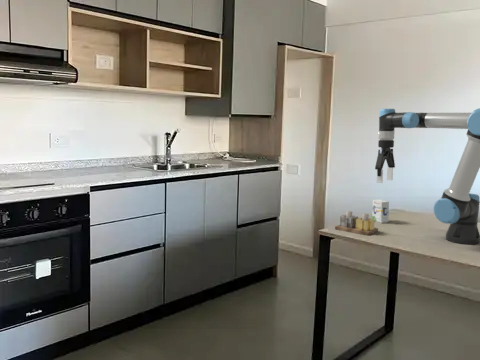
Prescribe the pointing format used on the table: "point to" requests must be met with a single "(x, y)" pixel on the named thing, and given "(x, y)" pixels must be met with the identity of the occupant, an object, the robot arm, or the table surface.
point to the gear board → (353, 224)
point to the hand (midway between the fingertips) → (384, 181)
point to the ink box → (380, 211)
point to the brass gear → (365, 224)
